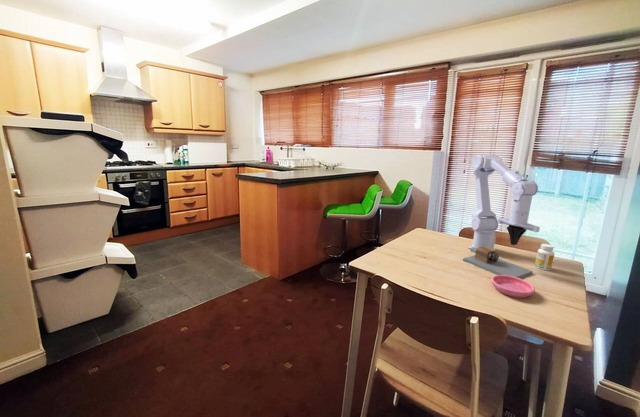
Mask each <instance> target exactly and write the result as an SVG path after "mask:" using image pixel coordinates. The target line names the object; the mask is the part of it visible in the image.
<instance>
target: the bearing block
mask: <svg viewBox="0 0 640 417" xmlns="http://www.w3.org/2000/svg"><path fill="white" fill-rule="evenodd" d="M490 253H492V254H493V253H497V249H496V250H495V248H494V249H493V248H490V247H487V246H483V247H479V248H476V253H474V255H475V259H476V260H479V261H481V262H484V263H489V262H493V261H491V259H490V258H489V255H490Z"/></svg>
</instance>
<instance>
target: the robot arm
mask: <svg viewBox="0 0 640 417" xmlns="http://www.w3.org/2000/svg"><path fill="white" fill-rule="evenodd" d="M472 170H473V171H472V172H473V175H474V176H473V178H474V185H475V186H474V187H475V197H476V207H477V208H476V209H477V211H476V212H474V214H472V219H471V228H472V229H473V231H474V232H473V233H474V234H473V240H472V244H471V245H470V246H467V248H468V249H470V250H471V248H472V247H475V248H479V247H483V246H487V247H490V248H493V249H495V243H496V233H495V231H497V230H498V229H499V224H503V225H507V227H506V230H507V233H508V234H509V240H510V241H509V242H510V245H513V246H516V245H517V244H518V242H519V241H520V239H521V237H522V236H523V234H525V233H526V232H527V231H530V232H534V233H539V232H540V228H541V227H540V226H537V225H534V224H531V223H528V220H529V214H530V209H531V204H532V199H533V196H536V194H537V193H538V191H539V186H538V184H537V183H536V181H535V180H528V179H527V177H525V176H523V175H522V174H521V173H520V171H519V169H518V170H516V169H510V168H509V167H508V166H507V165H506V164H505V163H504V161H503V158H502V157H501V156H500V155H498V154H496V155H492V154H491V155H490V154H489V155H488V154H484V155H483V154H477V155H475V157H474V158H473V160H472ZM494 172H497V173H498V174H500V175H501V176H502V181H503V182H504V183H506V185H508V186H509V187H510V188H511V193H512V200H513V201H512V205H511V212H510V218H503V217H498V218H497V214H496V213H494V212H493V211H492V210H491V208H492V207H491V201H490V199H491V198H490V190H489V180H488V179H489V178H488V177H490V175H492V174H493V173H494ZM495 250H497V249H495Z"/></svg>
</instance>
